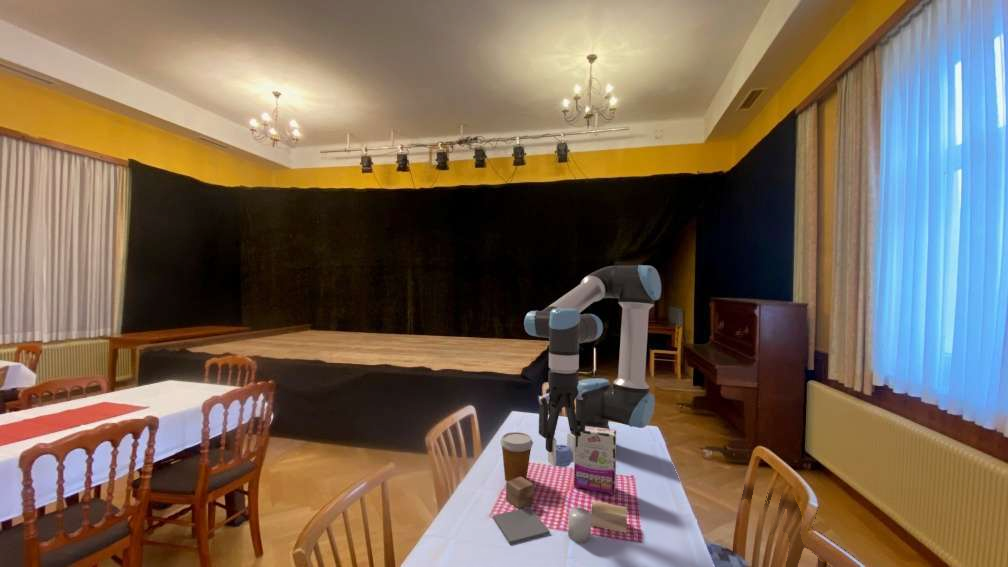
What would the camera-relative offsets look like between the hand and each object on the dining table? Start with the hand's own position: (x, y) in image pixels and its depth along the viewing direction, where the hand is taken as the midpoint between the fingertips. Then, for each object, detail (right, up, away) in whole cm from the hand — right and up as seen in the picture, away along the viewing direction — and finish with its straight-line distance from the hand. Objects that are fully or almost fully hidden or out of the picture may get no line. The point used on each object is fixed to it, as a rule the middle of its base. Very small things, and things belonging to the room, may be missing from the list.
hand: (561, 461), depth 96 cm
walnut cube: (-11, -12, +3) cm, 16 cm away
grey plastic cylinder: (+3, -12, -10) cm, 16 cm away
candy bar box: (+11, -13, +11) cm, 20 cm away
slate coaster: (-11, -12, -7) cm, 17 cm away
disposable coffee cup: (-11, -12, +15) cm, 22 cm away
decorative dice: (0, -1, 0) cm, 1 cm away
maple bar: (+10, -13, -5) cm, 17 cm away
